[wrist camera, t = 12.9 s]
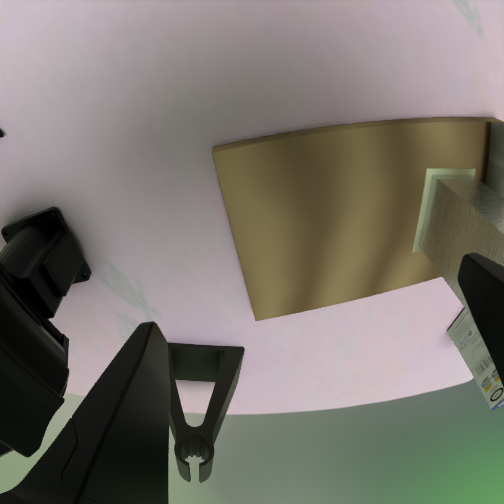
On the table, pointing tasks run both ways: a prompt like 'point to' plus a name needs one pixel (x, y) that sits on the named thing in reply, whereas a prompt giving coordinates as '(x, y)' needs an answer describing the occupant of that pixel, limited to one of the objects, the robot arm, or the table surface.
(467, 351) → the ink cartridge box
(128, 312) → the table surface
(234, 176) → the walnut base leaf
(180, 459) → the phone stand
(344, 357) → the table surface
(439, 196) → the brushed steel block
